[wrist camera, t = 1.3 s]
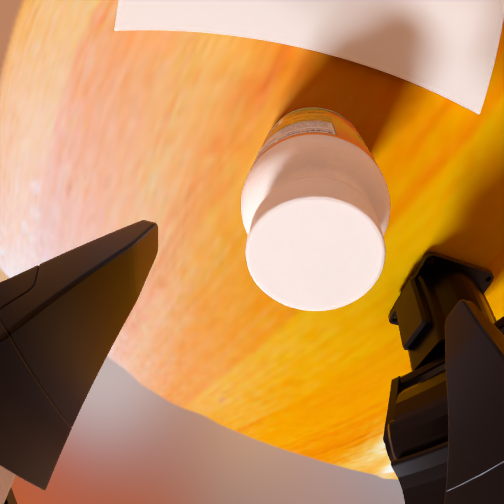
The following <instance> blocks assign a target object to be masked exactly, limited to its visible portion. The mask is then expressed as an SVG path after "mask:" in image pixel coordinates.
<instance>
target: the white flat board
mask: <svg viewBox="0 0 504 504" xmlns="http://www.w3.org/2000/svg"><path fill="white" fill-rule="evenodd" d="M503 19H504V0H119V2H118V8H117V15H116V22H115V29H114V31H124V30H168V31H189V32H202V33H213V34H223V35H231V36H239V37H246V38H252V39H259V40H265V41H270V42H276V43H281V44H286V45H291V46H295V47H300V48H304V49H308V50H312V51H316V52H320V53H324V54H328V55H332V56H335V57H339V58H342V59H346V60H349V61H352V62H356V63H359V64H362V65H365V66H368V67H371V68H374V69H377V70H380V71H382V72H385V73H388V74H391V75H393V76H396V77H399V78H401V79H404V80H406V81H409V82H411V83H414V84H416V85H418V86H421V87H423V88H425V89H428V90H430V91H432V92H434V93H437V94H439V95H441V96H443V97H445V98H447V99H449V100H451V101H454V102H456V103H458V104H460V105H462V106H463V107H465V108H467V109H469V110H471V111H473V112H475V113H477V114H479V115H480V112H481V108H482V105H483V102H484V99H485V95H486V92H487V89H488V85H489V82H490V78H491V74H492V70H493V66H494V62H495V58H496V54H497V50H498V45H499V40H500V35H501V30H502V25H503Z"/></svg>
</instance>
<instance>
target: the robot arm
mask: <svg viewBox="0 0 504 504" xmlns="http://www.w3.org/2000/svg"><path fill="white" fill-rule="evenodd" d="M157 252H158V226H157V224H156V223H154V222H150V221H146V220H142V221H139V222H137V223H134V224H132V225H129V226H127V227H124V228H122V229H120V230H117V231H115V232H112V233H110V234H107V235H105V236H103V237H100V238H98V239H96V240H93V241H91V242H89V243H86V244H84V245H82V246H79V247H77V248H75V249H73V250H70V251H68V252H66V253H64V254H61V255H59V256H57V257H55V258H52V259H50V260H48V261H46V262H44V263H42V264H40V265H39V266H35V267H33V268H31V269H29V270H27V271H25V272H22V273H20V274H18V275H16V276H14V277H12V278H9V279H7V280H5V281H2V282H0V504H17V502H16V500H15V497H14V494H13V491H12V488H11V485H12V483H13V481H14V479H15V476H16V475H17V476H19V477H20V478H22V479H24V480H26V481H28V482H29V483H31V484H33V485H35V486H37V487H39V488H41V489H43V490H45V489H46V488H47V485H48V483H49V480H50V478H51V475H52V473H53V471H54V468H55V465H56V463H57V461H58V458H59V456H60V454H61V451H62V449H63V447H64V445H65V442H66V440H67V438H68V436H69V433H70V431H71V429H72V428H71V427H72V426H73V424H74V422H75V420H76V418H77V415H78V413H79V411H80V409H81V407H82V404H83V403H84V401H85V399H86V397H87V394H88V392H89V390H90V388H91V386H92V384H93V382H94V380H95V378H96V376H97V374H98V372H99V370H100V368H101V366H102V364H103V363H104V360H105V359H106V357H107V355H108V353H109V351H110V349H111V347H112V345H113V343H114V342H115V340H116V338H117V336H118V334H119V332H120V330H121V329H122V327H123V325H124V323H125V321H126V319H127V318H128V316H129V314H130V312H131V310H132V309H133V307H134V305H135V303H136V301H137V299H138V297H139V295H140V292H141V290H142V288H143V285H144V283H145V281H146V278H147V276H148V274H149V271H150V269H151V267H152V265H153V262H154V260H155V258H156V255H157ZM429 259H432V260H431V261H428V260H429ZM487 277H488V278H487ZM493 278H494V276H493V274H492V272H491V271H490V270H487V269H484V268H481V267H478V266H475V265H472V264H469V263H466V262H463V261H460V260H456V259H453V258H450V257H447V256H444V255H441V254H438V253H434V252H428V253H426V254H425V255H424V257H423V258H422V260H421V262H420V264H419V266H418V267H417V269H416V271H415V273H414V274H413V276H412V277H411V278H410V279H409V280H408V282H407V284H406V286H405V287H404V289H403V291H402V292H401V294H400V296H399V297H398V299H397V300H396V302H395V304H394V308H393V309H392V311H391V312H390V314H389V316H388V317H389V322H390V323H391V324H395V325H399V330H400V335H401V340H402V345H403V348H404V350H408V352H409V357H410V363H411V369H412V372H410V373H408V374H406V375H404V376H402V377H401V376H399V377H397V378H395V379H393V380H392V383H391V391H390V398H389V404H388V411H387V417H386V423H385V430H384V437H383V440H384V443H385V446H386V450H387V454H388V456H389V459H390V461H391V466H392V468H393V470H394V472H395V473H396V475H397V477H398V479H399V482H400V484H401V487H402V490H403V495H404V499H405V504H504V316H503V317H502V318H501V319H499V320H498V321H496V318H495V316H494V314H493V312H492V310H491V307H490V305H489V303H488V301H487V299H486V297H485V295H484V292H485V291H486V289H487V288H488V287H489V285H490V284H491V282H492V281H493ZM395 317H396V318H395Z"/></svg>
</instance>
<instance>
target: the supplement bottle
mask: <svg viewBox="0 0 504 504" xmlns="http://www.w3.org/2000/svg"><path fill="white" fill-rule="evenodd" d="M241 213H242V219H243V223H244V227H245V229H246V232H247V234H248V238H247V242H246V261H247V265H248V269H249V271H250V274H251V276H252V277H253V279H254V281H255V282H256V284H257V285H258V286H259V287H260V288H261V289H262V290H263V291H264V292H265V293H266V294H267V295H269V296H270V297H271V298H273V299H274V300H276V301H278V302H280V303H282V304H284V305H286V306H289V307H292V308H297V309H301V310H308V311H324V310H331V309H335V308H339V307H343V306H345V305H348V304H350V303H352V302H354V301H355V300H357V299H359V298H360V297H362V296H363V295H364V294H365V293H366V292H368V291H369V290H370V289H371V287H372V286H373V285H374V284H375V282H376V281H377V279H378V278H379V276H380V274H381V272H382V269H383V266H384V261H385V242H384V237H383V236H384V234H385V231H386V229H387V226H388V222H389V217H390V196H389V192H388V188H387V185H386V182H385V180H384V177H383V175H382V173H381V171H380V169H379V167H378V165H377V164H376V162H375V160H374V158H373V156H372V155H371V153H370V151H369V149H368V148H367V146H366V144H365V142H364V141H363V139H362V137H361V136H360V134H359V133H358V131H357V130H356V128H355V127H354V126H353V125H352V124H351V123H350V122H349V121H348V120H347V119H346V118H345V117H343V116H342V115H340V114H338V113H336V112H334V111H331V110H328V109H324V108H317V107H310V108H302V109H298V110H295V111H292V112H290V113H288V114H287V115H285V116H284V117H282V118H281V119H280V120H279V121H278V122H277V123H276V124H275V125H274V126H273V127H272V129H271V130H270V132H269V133H268V135H267V137H266V139H265V141H264V143H263V145H262V147H261V149H260V151H259V153H258V155H257V157H256V159H255V161H254V163H253V165H252V168H251V169H250V171H249V174H248V176H247V178H246V181H245V184H244V188H243V191H242V197H241Z"/></svg>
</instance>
